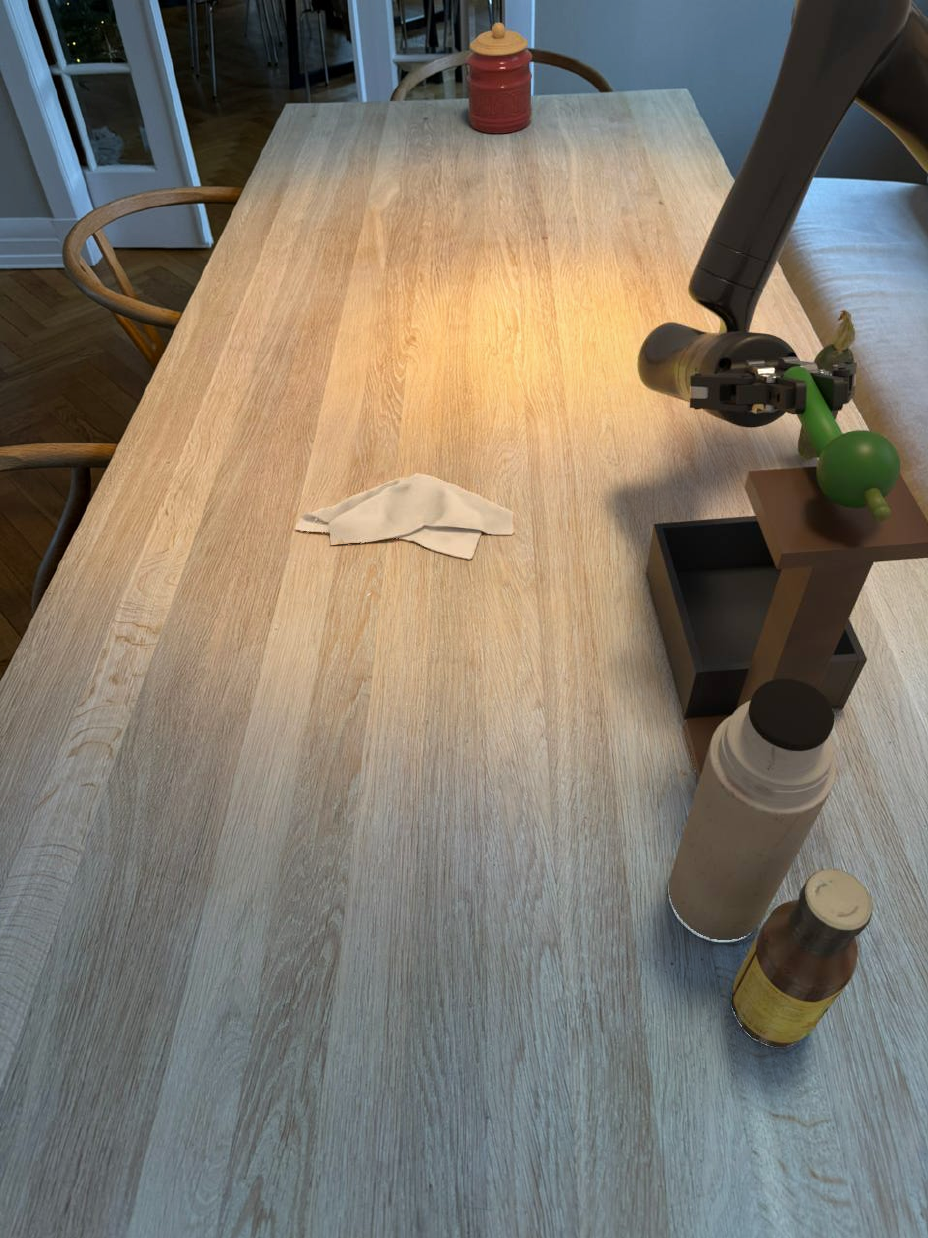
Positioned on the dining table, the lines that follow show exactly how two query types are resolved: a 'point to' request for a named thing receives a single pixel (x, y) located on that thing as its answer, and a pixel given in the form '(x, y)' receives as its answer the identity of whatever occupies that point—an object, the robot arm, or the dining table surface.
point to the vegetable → (826, 360)
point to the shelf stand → (813, 576)
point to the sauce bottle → (801, 959)
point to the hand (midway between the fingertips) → (820, 396)
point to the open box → (724, 612)
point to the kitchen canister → (499, 81)
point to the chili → (848, 456)
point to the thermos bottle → (753, 808)
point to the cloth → (414, 516)
